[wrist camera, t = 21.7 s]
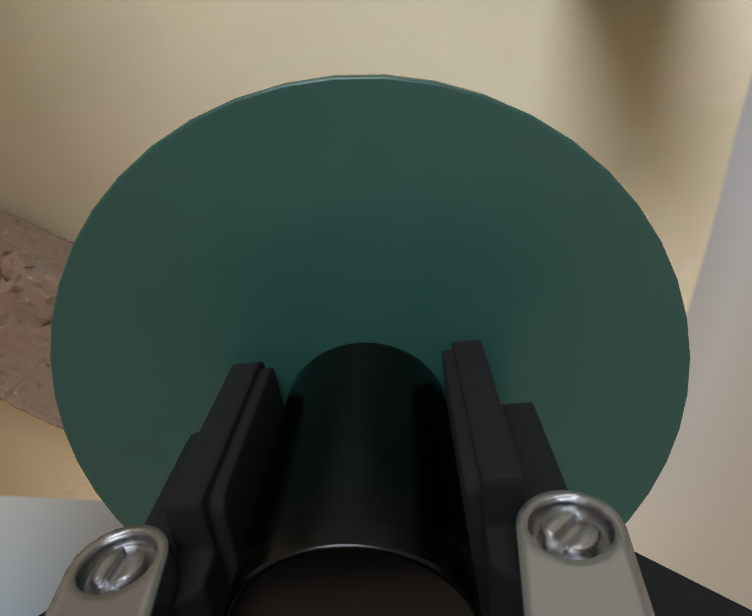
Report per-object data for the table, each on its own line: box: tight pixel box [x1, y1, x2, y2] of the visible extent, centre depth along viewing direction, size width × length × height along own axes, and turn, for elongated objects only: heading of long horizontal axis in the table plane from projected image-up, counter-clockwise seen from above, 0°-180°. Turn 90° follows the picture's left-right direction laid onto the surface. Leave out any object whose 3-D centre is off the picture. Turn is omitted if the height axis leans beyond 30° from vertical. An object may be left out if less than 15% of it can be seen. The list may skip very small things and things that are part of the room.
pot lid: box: [50, 74, 690, 616], centre depth 10 cm, size 12×12×6 cm
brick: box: [0, 211, 73, 429], centre depth 30 cm, size 16×8×5 cm, turn 61°
